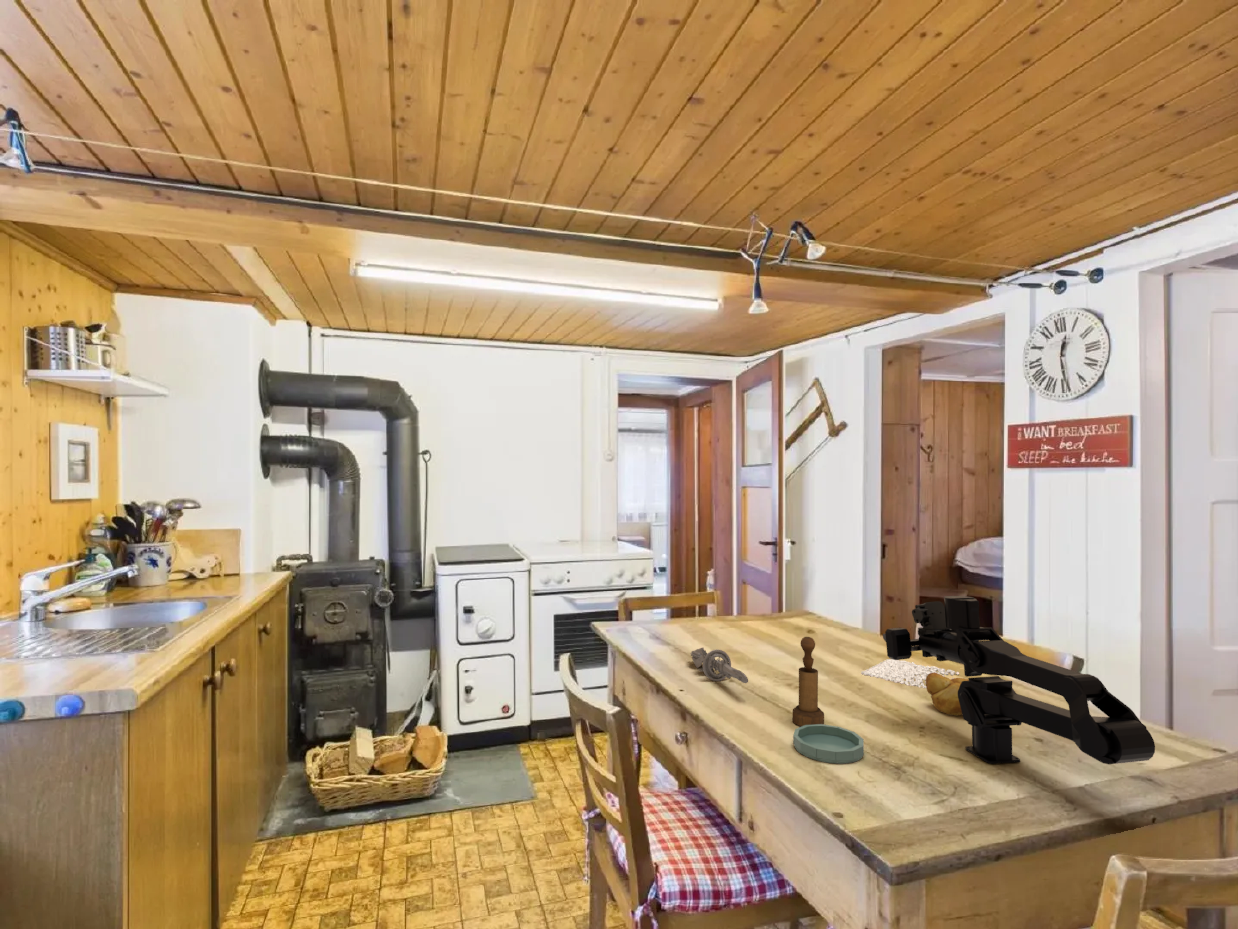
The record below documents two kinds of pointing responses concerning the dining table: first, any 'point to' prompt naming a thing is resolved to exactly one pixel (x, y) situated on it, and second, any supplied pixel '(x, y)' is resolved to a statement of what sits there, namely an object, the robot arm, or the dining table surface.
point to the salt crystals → (904, 672)
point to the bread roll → (944, 693)
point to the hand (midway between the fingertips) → (901, 634)
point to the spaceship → (716, 665)
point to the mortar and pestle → (808, 689)
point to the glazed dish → (828, 743)
